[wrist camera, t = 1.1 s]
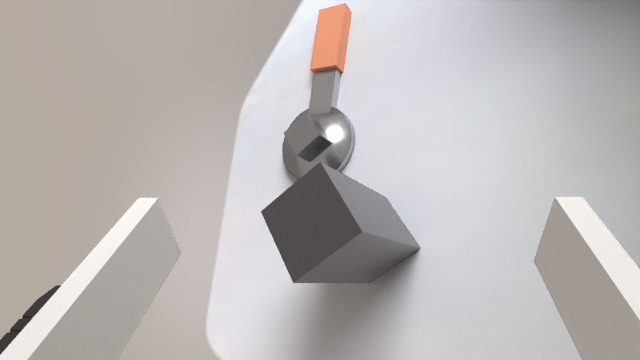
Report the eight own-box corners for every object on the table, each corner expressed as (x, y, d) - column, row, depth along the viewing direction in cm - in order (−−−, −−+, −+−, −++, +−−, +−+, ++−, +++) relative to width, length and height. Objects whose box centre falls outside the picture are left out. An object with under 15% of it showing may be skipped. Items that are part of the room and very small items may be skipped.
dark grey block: (340, 231, 38) (261, 211, 27) (385, 197, 36) (320, 161, 25) (369, 282, 35) (293, 282, 24) (420, 248, 33) (362, 231, 23)
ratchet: (349, 184, 39) (331, 175, 36) (283, 182, 44) (261, 174, 40) (372, 3, 43) (358, -20, 40) (309, 20, 48) (291, 0, 44)
